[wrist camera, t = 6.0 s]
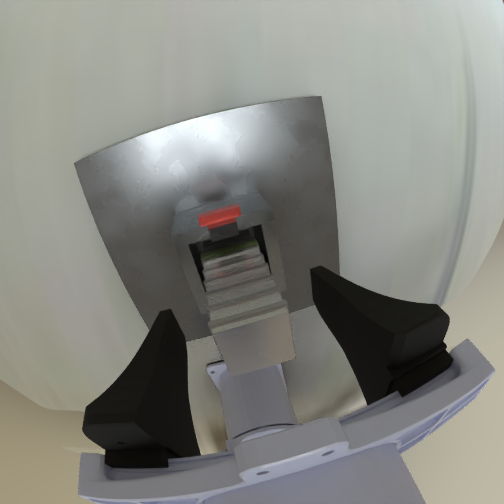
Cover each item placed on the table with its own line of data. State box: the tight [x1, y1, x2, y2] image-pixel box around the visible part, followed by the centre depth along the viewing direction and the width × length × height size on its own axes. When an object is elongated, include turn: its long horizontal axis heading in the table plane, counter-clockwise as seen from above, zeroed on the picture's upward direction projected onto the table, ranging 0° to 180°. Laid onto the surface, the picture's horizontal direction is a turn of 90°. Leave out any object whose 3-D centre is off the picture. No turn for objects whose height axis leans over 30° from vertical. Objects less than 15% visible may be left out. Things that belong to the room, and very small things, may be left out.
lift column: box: [201, 229, 296, 377], centre depth 14 cm, size 3×3×8 cm
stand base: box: [74, 96, 340, 342], centre depth 19 cm, size 18×18×6 cm
